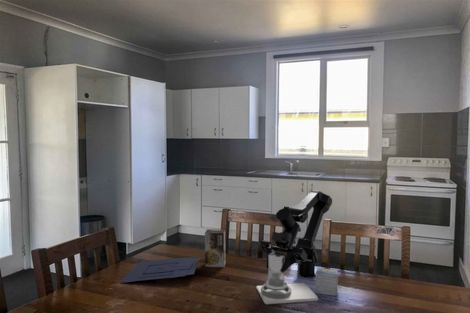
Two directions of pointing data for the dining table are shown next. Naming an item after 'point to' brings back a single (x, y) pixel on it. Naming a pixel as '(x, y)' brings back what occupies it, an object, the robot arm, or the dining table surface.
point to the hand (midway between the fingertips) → (274, 270)
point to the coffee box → (214, 248)
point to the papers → (162, 269)
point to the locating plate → (295, 296)
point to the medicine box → (327, 281)
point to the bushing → (276, 272)
